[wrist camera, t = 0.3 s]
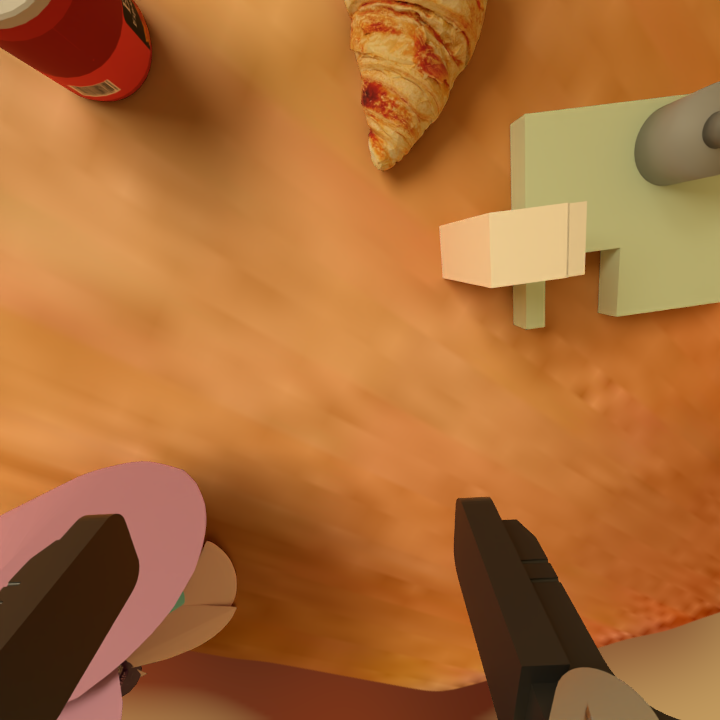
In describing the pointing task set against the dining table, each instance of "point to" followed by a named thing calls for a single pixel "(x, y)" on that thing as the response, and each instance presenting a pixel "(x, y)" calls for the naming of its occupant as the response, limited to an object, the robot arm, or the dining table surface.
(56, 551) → the robot arm
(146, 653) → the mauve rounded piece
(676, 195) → the deck
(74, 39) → the canned food
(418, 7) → the croissant
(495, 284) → the beige bar
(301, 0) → the dining table surface
